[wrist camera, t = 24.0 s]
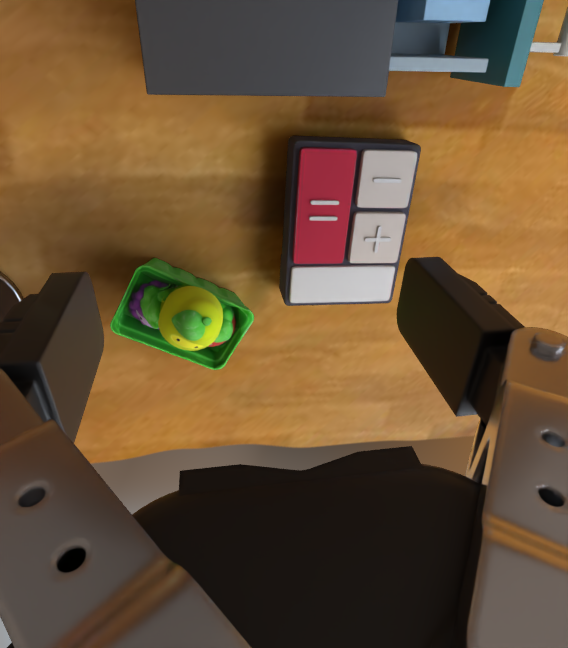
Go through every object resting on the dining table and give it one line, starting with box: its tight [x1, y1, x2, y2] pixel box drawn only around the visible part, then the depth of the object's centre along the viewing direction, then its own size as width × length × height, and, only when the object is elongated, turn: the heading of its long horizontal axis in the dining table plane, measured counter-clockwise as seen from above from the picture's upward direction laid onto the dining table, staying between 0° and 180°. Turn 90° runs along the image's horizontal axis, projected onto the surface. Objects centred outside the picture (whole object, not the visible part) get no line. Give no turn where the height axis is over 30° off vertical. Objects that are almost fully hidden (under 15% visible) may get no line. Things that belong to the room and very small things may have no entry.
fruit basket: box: [110, 258, 254, 370], centre depth 40 cm, size 11×9×11 cm
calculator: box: [279, 136, 421, 306], centre depth 41 cm, size 11×4×15 cm
